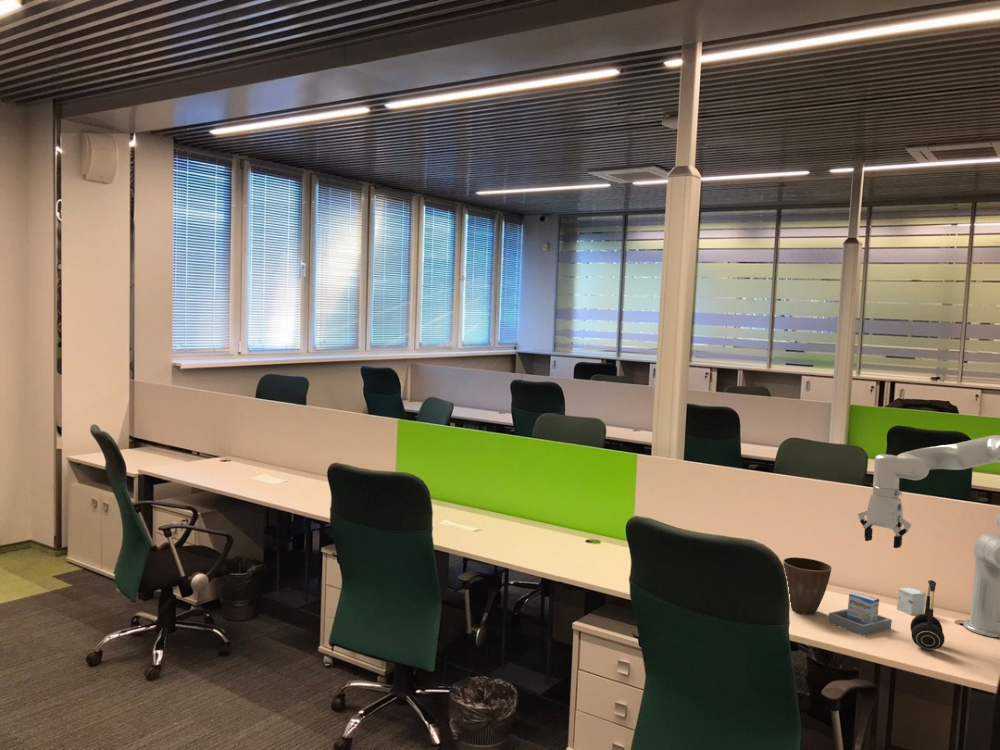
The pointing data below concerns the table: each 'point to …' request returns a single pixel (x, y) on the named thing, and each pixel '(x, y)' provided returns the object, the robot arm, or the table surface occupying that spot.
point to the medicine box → (862, 608)
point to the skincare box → (911, 601)
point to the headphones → (927, 625)
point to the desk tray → (874, 627)
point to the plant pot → (806, 583)
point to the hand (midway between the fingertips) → (882, 543)
